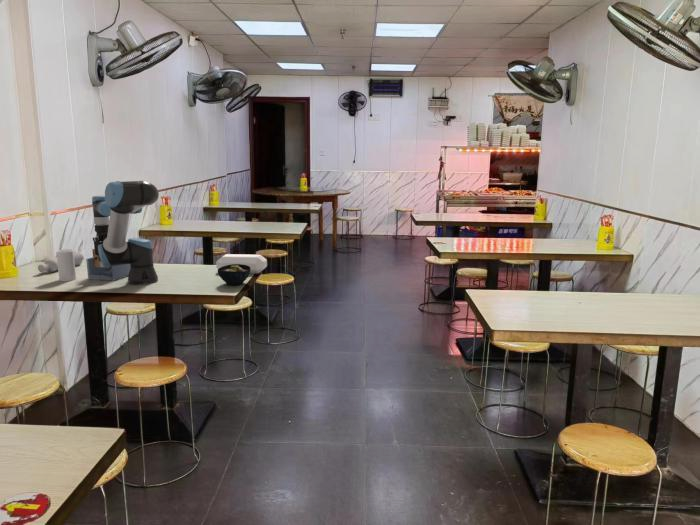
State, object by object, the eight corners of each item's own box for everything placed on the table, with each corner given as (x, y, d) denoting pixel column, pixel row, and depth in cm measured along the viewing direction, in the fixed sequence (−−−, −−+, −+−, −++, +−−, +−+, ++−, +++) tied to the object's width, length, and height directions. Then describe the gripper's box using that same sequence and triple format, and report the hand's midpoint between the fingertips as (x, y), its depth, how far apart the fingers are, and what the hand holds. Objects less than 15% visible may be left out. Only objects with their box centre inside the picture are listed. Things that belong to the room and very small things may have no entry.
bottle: (70, 258, 335) (32, 270, 307) (75, 246, 332) (37, 257, 304) (81, 266, 335) (44, 279, 307) (87, 255, 332) (50, 267, 304)
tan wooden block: (117, 266, 300) (115, 249, 297) (110, 268, 295) (109, 250, 293) (99, 265, 303) (97, 247, 301) (92, 267, 298) (90, 249, 296)
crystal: (221, 252, 322) (268, 253, 320) (222, 268, 324) (268, 269, 322) (214, 257, 308) (262, 258, 306) (215, 274, 310) (263, 275, 308)
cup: (79, 277, 299) (76, 249, 296) (70, 281, 291) (67, 252, 288) (65, 277, 300) (62, 249, 296) (56, 281, 292) (52, 251, 288)
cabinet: (86, 279, 296) (84, 259, 294) (110, 271, 315) (108, 252, 313) (111, 281, 292) (109, 261, 290) (134, 273, 311) (133, 254, 308)
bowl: (213, 287, 280) (212, 268, 278) (225, 279, 297) (224, 261, 295) (245, 288, 278) (244, 269, 276) (255, 280, 294) (254, 262, 292)
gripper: (106, 221, 303) (110, 262, 308) (84, 226, 287) (88, 269, 292) (118, 222, 301) (121, 263, 306) (96, 226, 285) (100, 269, 290)
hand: (105, 266), depth 299 cm, fingers closed on tan wooden block, 4 cm apart
